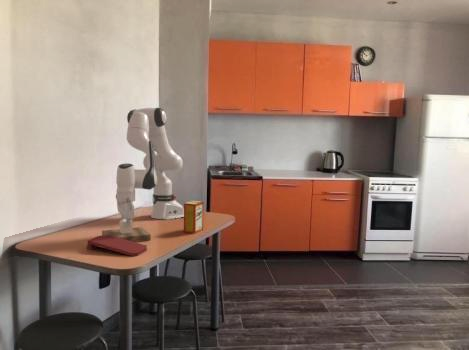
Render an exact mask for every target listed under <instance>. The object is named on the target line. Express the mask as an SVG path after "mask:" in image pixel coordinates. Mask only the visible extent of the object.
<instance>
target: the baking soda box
mask: <svg viewBox="0 0 469 350" xmlns="http://www.w3.org/2000/svg"><path fill="white" fill-rule="evenodd" d="M183 209H184V218H183V233H187V234H193V235H195V234H197V233H200V232H201V230H202V231H203V230H204V201H203V200H202V201H200V200H189V201H187V202H184V203H183Z"/></svg>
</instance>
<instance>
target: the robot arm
mask: <svg viewBox="0 0 469 350" xmlns="http://www.w3.org/2000/svg"><path fill="white" fill-rule="evenodd" d="M126 117H127V118H126V120H127V124H128V125H127V130H126V141H127V143H128V144H129V145H130V146H131V147H132V148H134V149H136V150H138V151H140V152H142V153H144V154H145V156H144V157H143V160H142V162H143V163H142V164H143V166H144V168H145V169H138V168H137V169H135V165H134V164H132V163H126V162H125V163H121V164H119V165H118V166H117V170H116V181H115V182H116V185H117V186H116V191H115V192H116V194H115V199H116V207H117V211H118V213H119V214H120V216H121V220H124V219H126V227H130V222H131V220H132V221H133V220H135V217H136V216H135V215H136V214H135V204H134V202H135V201H136V189H141V190H142V189H143V190H152V189H153V194H152V203H153V204H152V211H151V215H150V218H152V219H157V220H165V221H166V220H167V221H169V220H176V219H181V217H184V205H182V204H180V203H179V202H178V201H177V200H176V199H178V195H176V194H173V192H172V191H173V185H172V184H173V183H172V180H171V179H170V178H169V177H167V175H166V173H177V172H179V171H181V170H182V168H183V166H184V165H183V164H184V163H183V159H182V157H181V156H180V155H178V154H177V153H176V152H175V151H174V150H173V148H172V147H171V145H170V142H169V139H168V135H167V132H166V127H165V125H166V123H167V112H166V110H164V109H163V107H145V108H138V109H131V110H129V112H128V114H127V116H126ZM175 218H176V219H175Z"/></svg>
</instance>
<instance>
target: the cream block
mask: <svg viewBox="0 0 469 350" xmlns="http://www.w3.org/2000/svg"><path fill="white" fill-rule="evenodd" d="M132 228H133V219H132V220H131V222H130V227H126V219H124V220H122V219H119V229H120V232H121V234H129V233H132Z"/></svg>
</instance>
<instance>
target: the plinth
mask: <svg viewBox="0 0 469 350" xmlns="http://www.w3.org/2000/svg"><path fill="white" fill-rule="evenodd" d="M101 235H111V236H115V237H118V238H122V239H125V240H129V241H132V242H136V243H140V242H148V241H151V237H152V236H151V233H149V232H148V231H147V230H146V229H145V228H144V227H142V226H141V227H132V233H129V234H121V232H120V228H116V229H105V230H101Z"/></svg>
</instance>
